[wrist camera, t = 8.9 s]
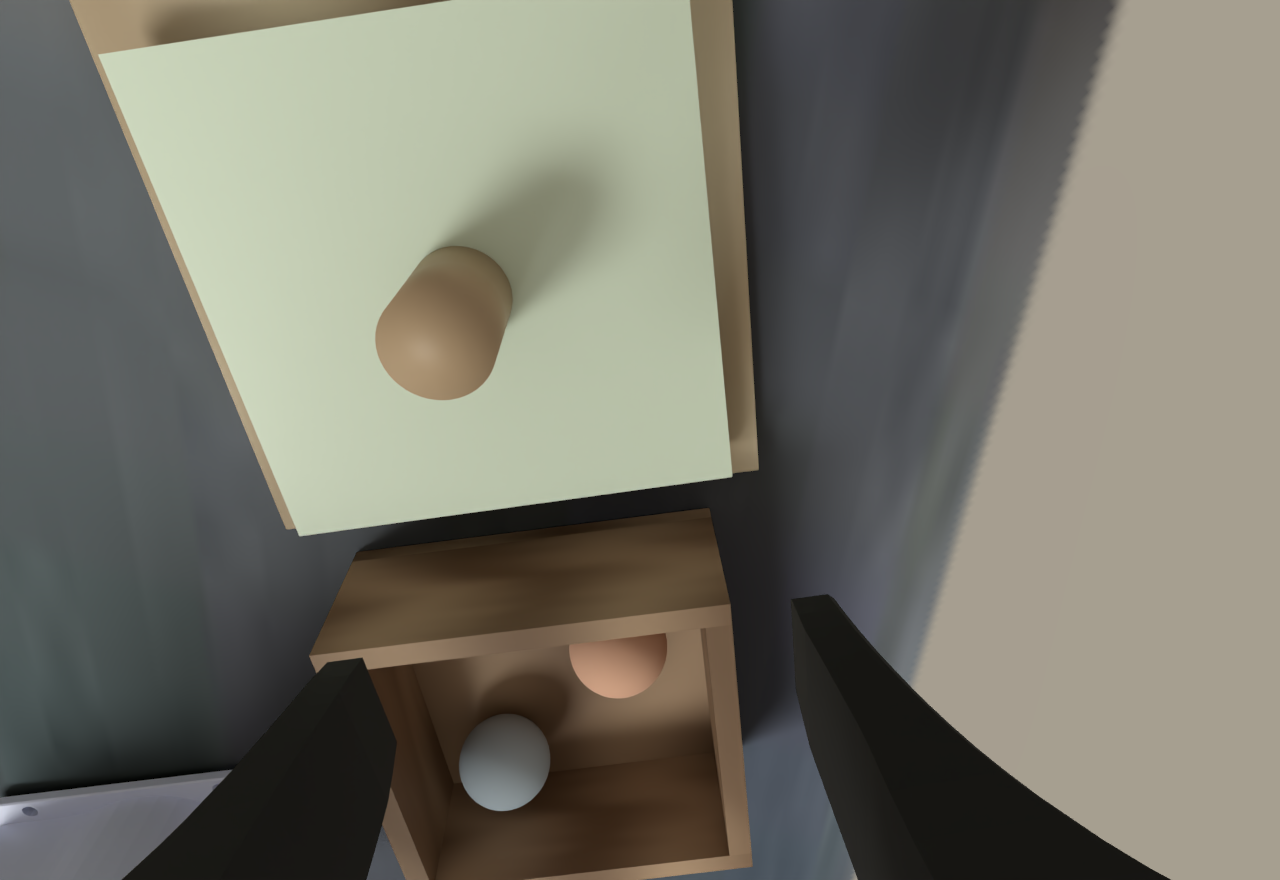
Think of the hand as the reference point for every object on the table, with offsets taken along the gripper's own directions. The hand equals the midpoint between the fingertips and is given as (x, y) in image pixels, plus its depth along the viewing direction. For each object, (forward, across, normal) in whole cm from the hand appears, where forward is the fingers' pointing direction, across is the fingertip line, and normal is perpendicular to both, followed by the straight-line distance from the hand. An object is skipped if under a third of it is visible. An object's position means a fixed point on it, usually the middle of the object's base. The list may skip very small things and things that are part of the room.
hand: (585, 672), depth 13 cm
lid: (+9, +2, -4) cm, 10 cm away
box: (+10, +3, +9) cm, 14 cm away
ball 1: (+10, +5, +12) cm, 16 cm away
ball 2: (+10, 0, +7) cm, 12 cm away
